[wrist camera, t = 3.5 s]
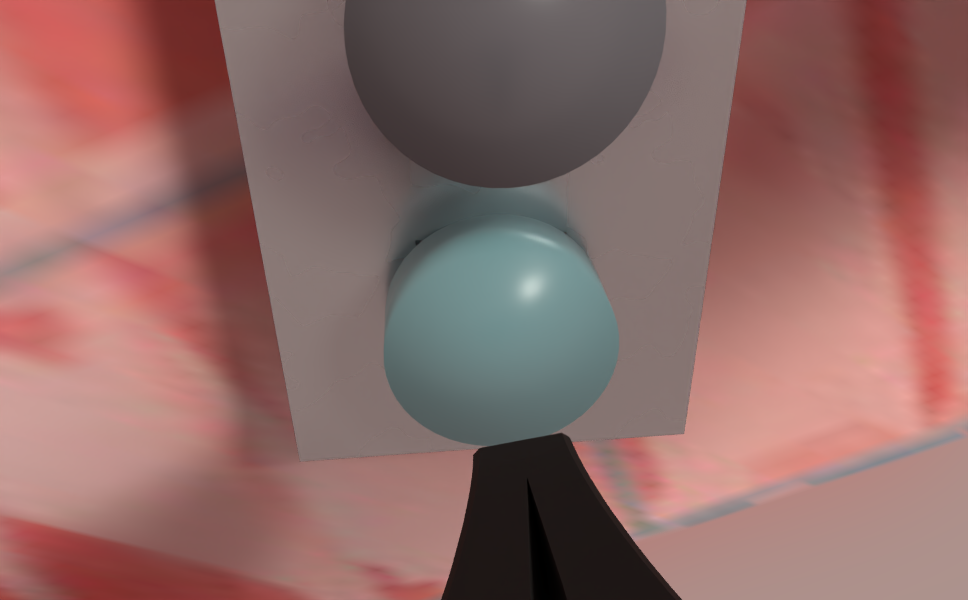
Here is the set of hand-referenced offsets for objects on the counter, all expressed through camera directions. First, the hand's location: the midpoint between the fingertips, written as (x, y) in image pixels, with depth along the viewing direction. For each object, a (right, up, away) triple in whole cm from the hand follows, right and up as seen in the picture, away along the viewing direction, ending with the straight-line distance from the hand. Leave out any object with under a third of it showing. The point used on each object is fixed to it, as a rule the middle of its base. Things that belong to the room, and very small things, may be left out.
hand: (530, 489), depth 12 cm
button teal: (-1, +4, +6) cm, 7 cm away
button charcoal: (-1, +8, +2) cm, 9 cm away
